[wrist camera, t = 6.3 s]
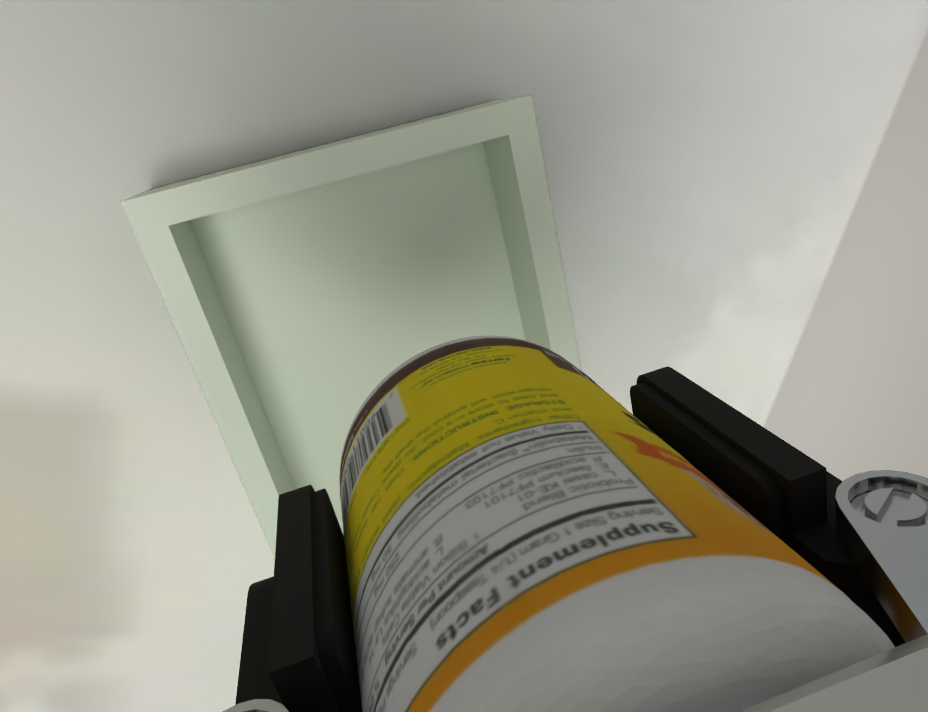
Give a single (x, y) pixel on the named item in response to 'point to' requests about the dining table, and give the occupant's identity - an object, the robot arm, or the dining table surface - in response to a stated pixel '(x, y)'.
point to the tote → (351, 278)
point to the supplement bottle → (562, 554)
